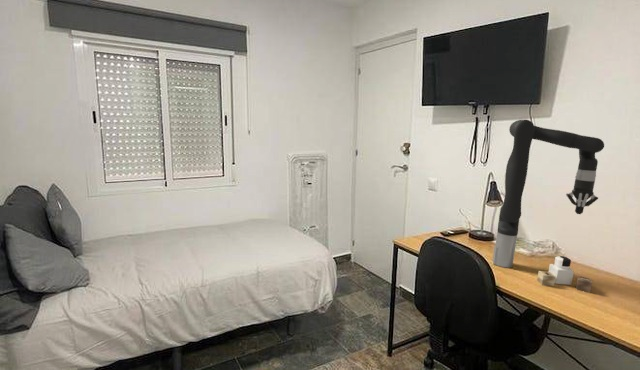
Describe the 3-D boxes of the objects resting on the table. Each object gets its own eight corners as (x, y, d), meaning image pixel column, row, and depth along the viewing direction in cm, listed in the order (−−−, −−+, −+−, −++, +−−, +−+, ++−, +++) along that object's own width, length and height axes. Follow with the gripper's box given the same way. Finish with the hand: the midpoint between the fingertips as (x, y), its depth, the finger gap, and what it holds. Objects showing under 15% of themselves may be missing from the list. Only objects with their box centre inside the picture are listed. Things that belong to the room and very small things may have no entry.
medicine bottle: (562, 278, 164) (566, 255, 162) (571, 285, 157) (576, 261, 155) (547, 277, 165) (551, 254, 163) (555, 283, 158) (559, 259, 156)
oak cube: (541, 285, 156) (543, 275, 155) (537, 280, 161) (538, 270, 160) (553, 286, 155) (555, 276, 154) (548, 281, 160) (550, 271, 159)
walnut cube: (576, 289, 153) (578, 279, 152) (575, 285, 157) (577, 275, 156) (589, 293, 150) (592, 282, 150) (589, 289, 154) (591, 278, 154)
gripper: (571, 178, 162) (564, 213, 165) (605, 181, 157) (597, 217, 160) (566, 176, 169) (560, 210, 172) (598, 179, 164) (591, 213, 167)
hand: (578, 213), depth 166 cm, fingers closed
